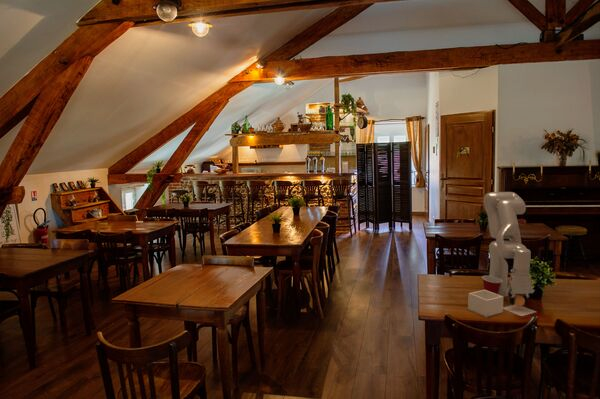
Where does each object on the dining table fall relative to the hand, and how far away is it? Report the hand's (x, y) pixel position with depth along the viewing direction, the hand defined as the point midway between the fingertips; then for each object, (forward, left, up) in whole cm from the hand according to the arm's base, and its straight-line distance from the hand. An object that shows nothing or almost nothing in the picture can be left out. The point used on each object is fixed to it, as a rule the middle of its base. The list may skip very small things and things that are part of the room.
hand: (518, 303), depth 227 cm
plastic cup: (-18, +2, -4) cm, 19 cm away
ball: (0, 0, -1) cm, 1 cm away
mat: (+1, 0, -4) cm, 4 cm away
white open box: (-7, -16, -4) cm, 18 cm away
